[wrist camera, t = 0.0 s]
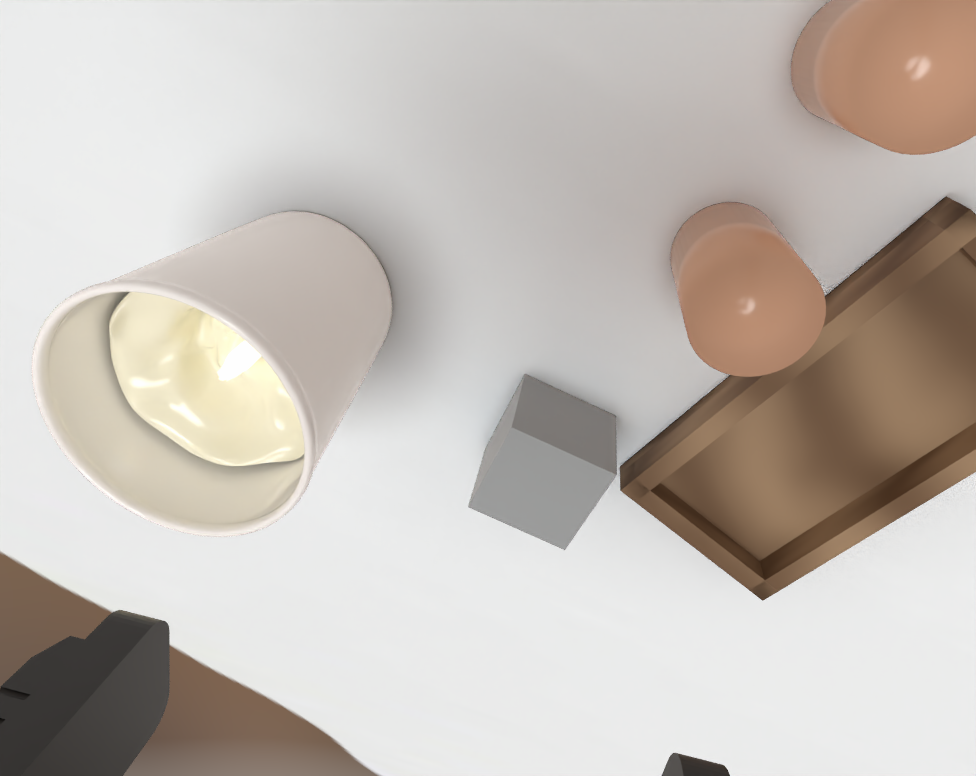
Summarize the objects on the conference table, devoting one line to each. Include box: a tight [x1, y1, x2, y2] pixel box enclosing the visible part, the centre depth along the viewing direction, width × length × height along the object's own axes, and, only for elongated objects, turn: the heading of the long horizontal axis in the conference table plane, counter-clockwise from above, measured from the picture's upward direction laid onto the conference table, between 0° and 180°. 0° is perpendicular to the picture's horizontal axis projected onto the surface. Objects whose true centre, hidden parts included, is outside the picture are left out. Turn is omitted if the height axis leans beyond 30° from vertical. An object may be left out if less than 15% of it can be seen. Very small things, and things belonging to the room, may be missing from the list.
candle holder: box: [32, 211, 392, 537], centre depth 27 cm, size 10×10×12 cm
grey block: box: [468, 374, 617, 550], centre depth 32 cm, size 5×5×5 cm
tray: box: [620, 197, 976, 600], centre depth 30 cm, size 18×10×2 cm, turn 141°
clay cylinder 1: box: [670, 202, 826, 377], centre depth 25 cm, size 4×4×7 cm
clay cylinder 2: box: [791, 0, 976, 155], centre depth 21 cm, size 4×4×7 cm
